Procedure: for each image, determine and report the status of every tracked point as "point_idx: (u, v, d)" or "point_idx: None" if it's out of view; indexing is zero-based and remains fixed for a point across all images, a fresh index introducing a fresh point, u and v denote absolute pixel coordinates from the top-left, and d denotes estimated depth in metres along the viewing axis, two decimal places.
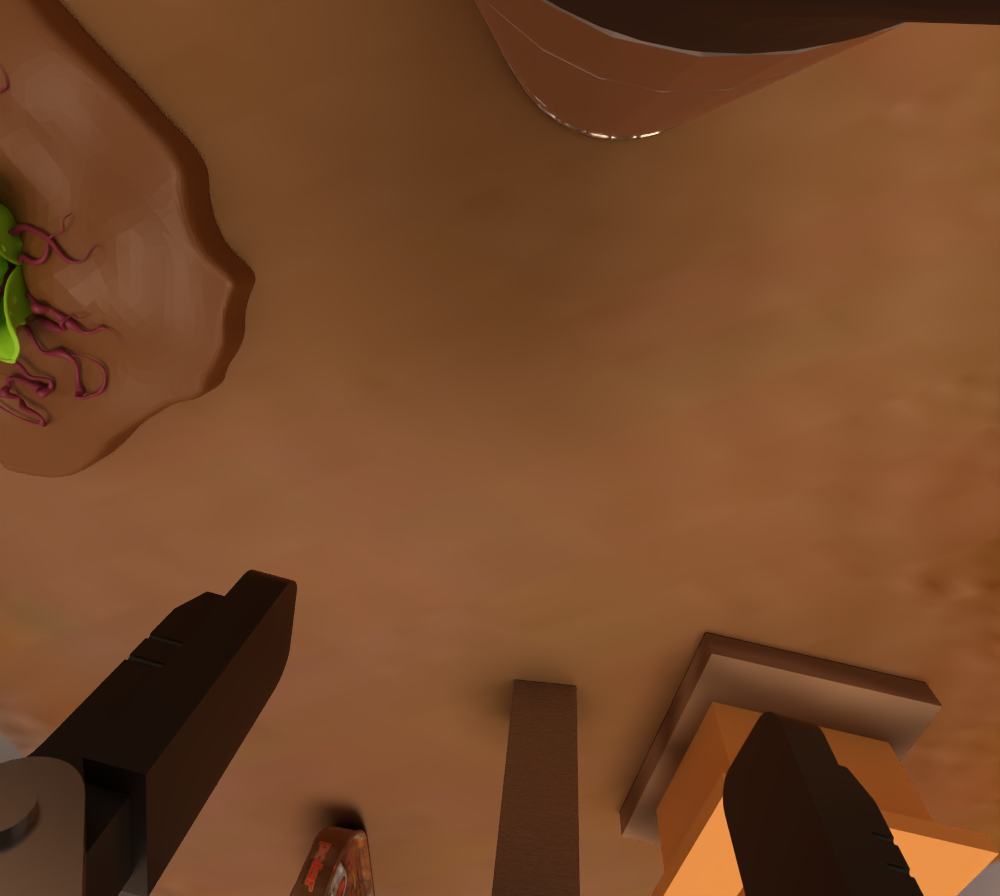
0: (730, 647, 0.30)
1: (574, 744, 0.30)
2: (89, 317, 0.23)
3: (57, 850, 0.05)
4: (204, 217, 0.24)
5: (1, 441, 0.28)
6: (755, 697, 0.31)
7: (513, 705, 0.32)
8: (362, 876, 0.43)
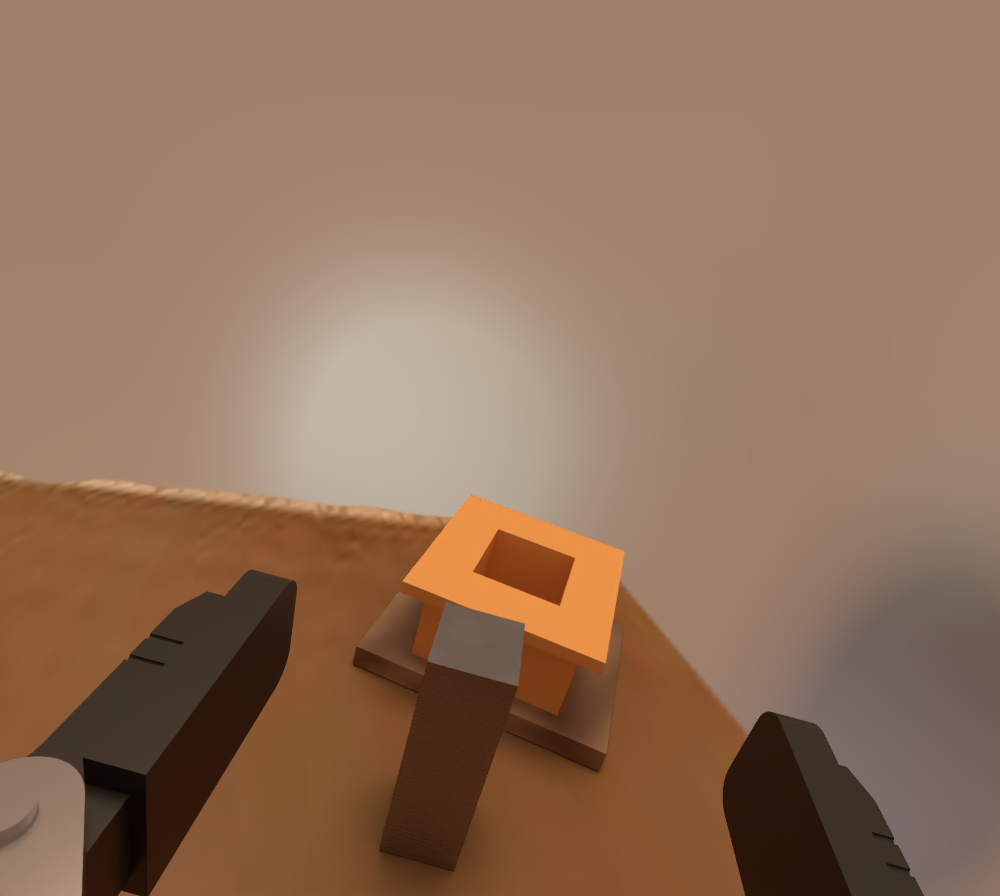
0: None
1: None
2: None
3: (57, 850, 0.05)
4: None
5: None
6: (411, 628, 0.38)
7: None
8: None
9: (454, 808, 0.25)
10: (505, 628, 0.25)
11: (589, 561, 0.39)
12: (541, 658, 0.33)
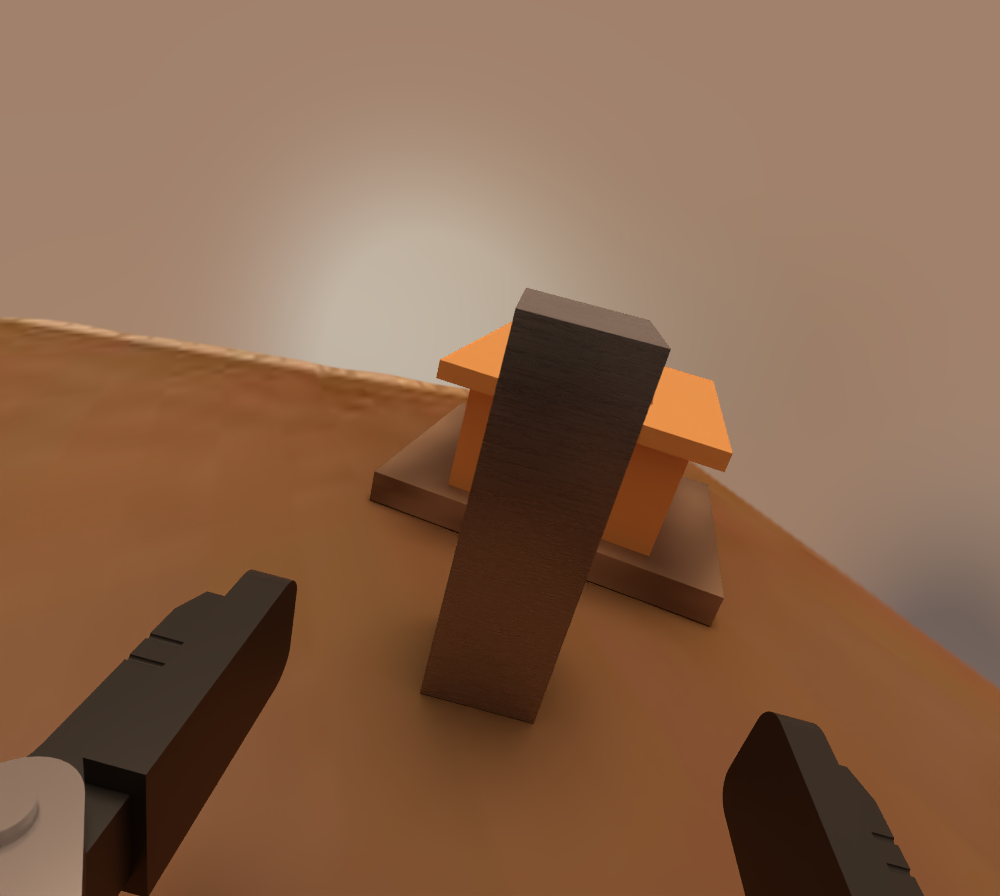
0: None
1: None
2: None
3: (57, 850, 0.05)
4: None
5: None
6: (444, 462, 0.29)
7: None
8: None
9: (543, 608, 0.16)
10: (623, 316, 0.16)
11: (675, 381, 0.30)
12: (631, 470, 0.24)
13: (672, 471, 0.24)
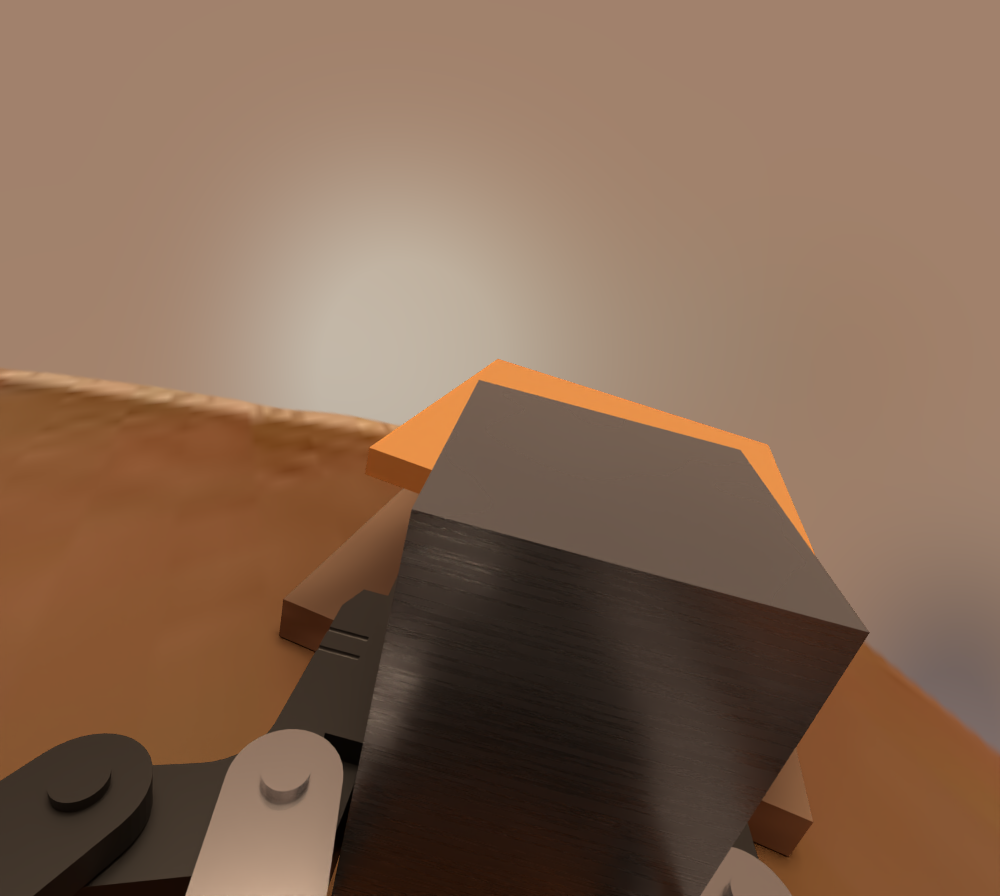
0: None
1: None
2: None
3: (337, 808, 0.06)
4: None
5: None
6: (394, 571, 0.20)
7: None
8: None
9: None
10: (689, 452, 0.07)
11: None
12: None
13: None
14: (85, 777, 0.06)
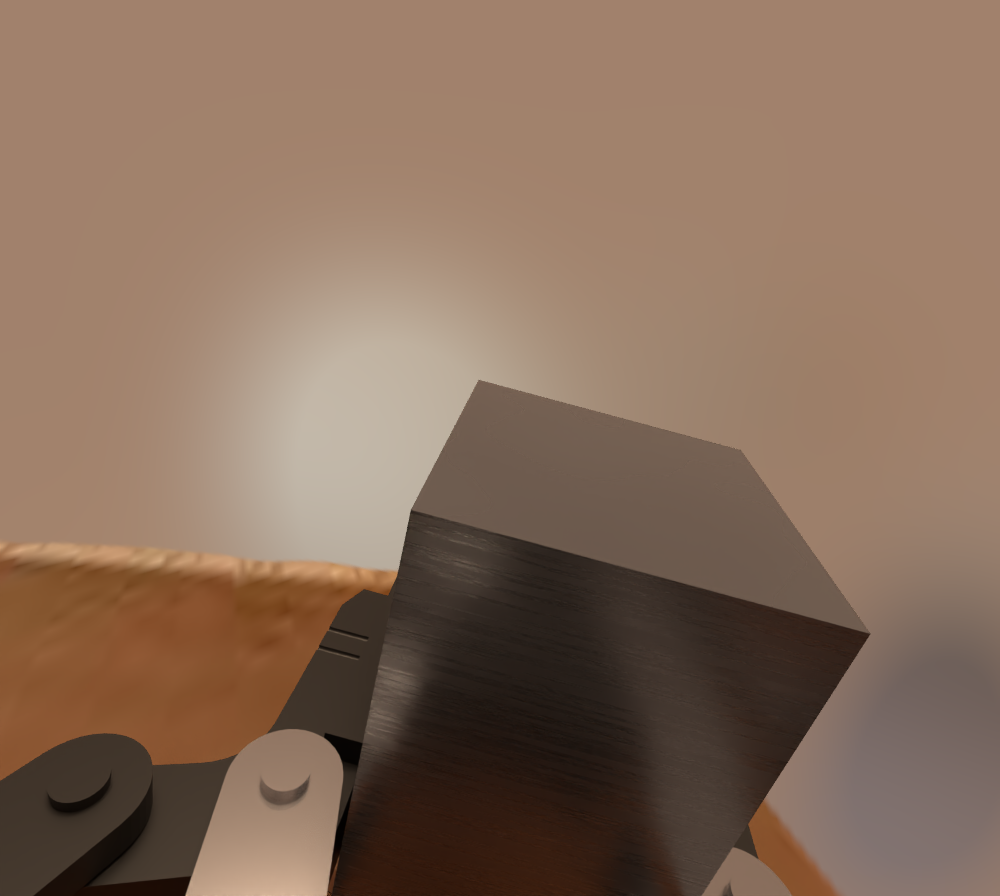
0: None
1: None
2: None
3: (338, 807, 0.06)
4: None
5: None
6: None
7: None
8: None
9: None
10: (690, 453, 0.07)
11: None
12: None
13: None
14: (85, 777, 0.06)
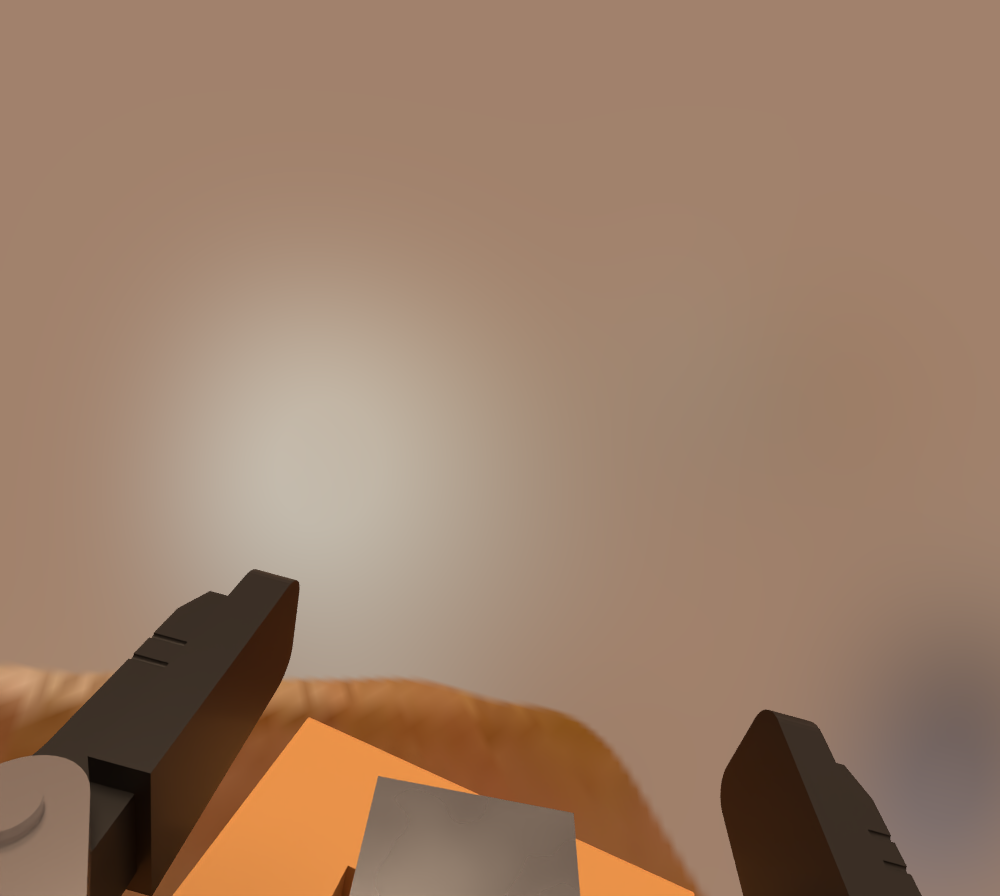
0: None
1: None
2: None
3: (63, 848, 0.05)
4: None
5: None
6: None
7: None
8: None
9: None
10: (530, 841, 0.10)
11: None
12: None
13: None
14: None
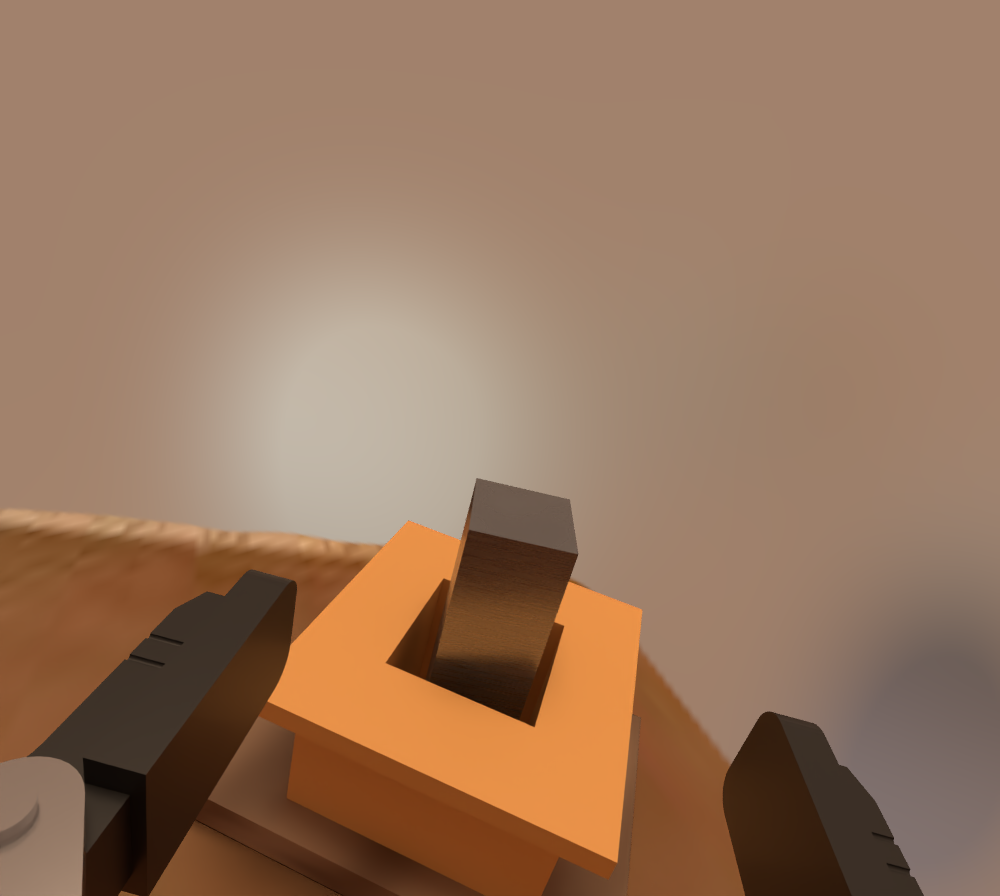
0: None
1: (434, 644, 0.25)
2: None
3: (57, 850, 0.05)
4: None
5: None
6: None
7: None
8: None
9: None
10: (549, 503, 0.21)
11: (588, 630, 0.25)
12: None
13: None
14: None
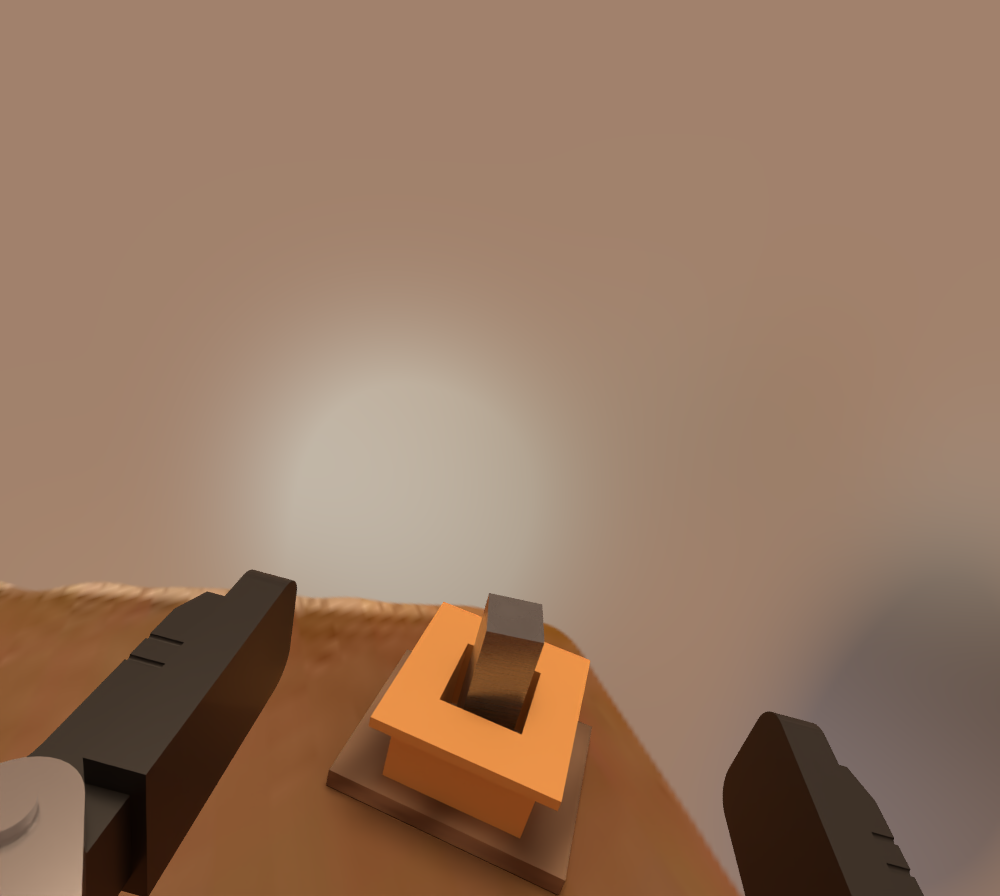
0: None
1: (463, 684, 0.41)
2: None
3: (57, 850, 0.05)
4: None
5: None
6: (383, 745, 0.40)
7: None
8: None
9: None
10: (530, 608, 0.38)
11: (555, 675, 0.41)
12: (503, 787, 0.35)
13: None
14: None
